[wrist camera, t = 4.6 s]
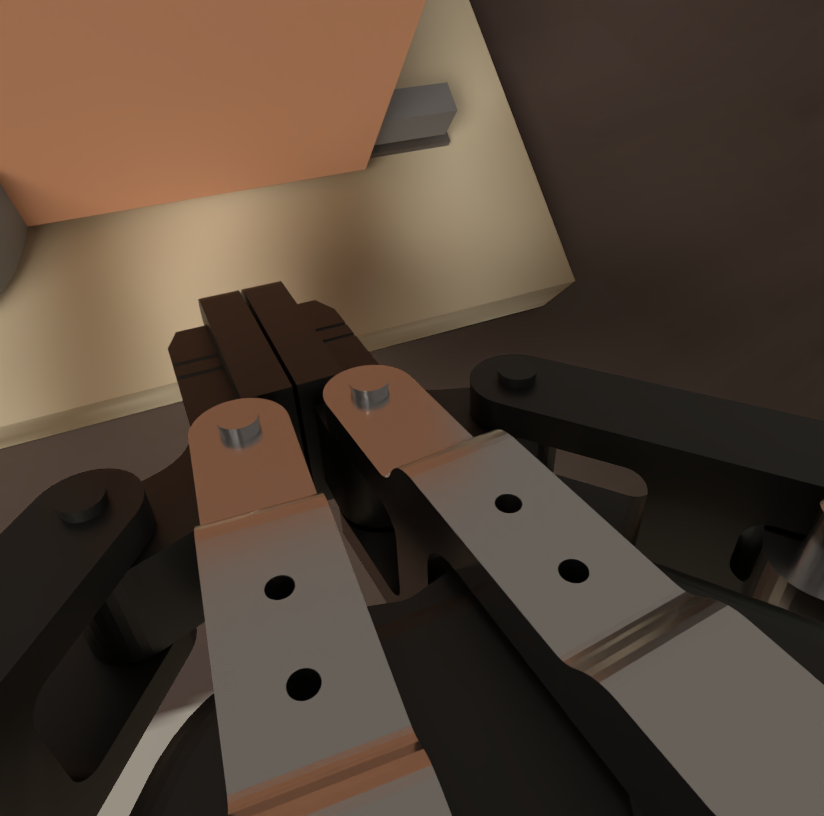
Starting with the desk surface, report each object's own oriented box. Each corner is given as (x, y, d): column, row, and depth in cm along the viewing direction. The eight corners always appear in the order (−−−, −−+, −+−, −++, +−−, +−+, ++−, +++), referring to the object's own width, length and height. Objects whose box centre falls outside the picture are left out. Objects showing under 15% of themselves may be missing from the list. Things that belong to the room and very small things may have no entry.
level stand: (-508, 582, 13) (-1039, 607, 7) (-639, -203, 15) (-1129, -627, 9) (542, 305, 20) (654, 219, 15) (359, -189, 22) (400, -420, 17)
